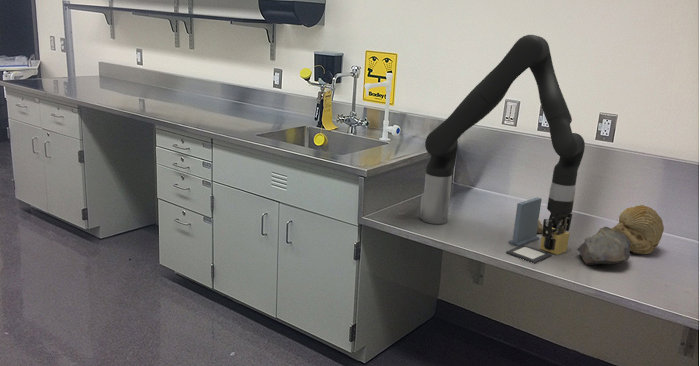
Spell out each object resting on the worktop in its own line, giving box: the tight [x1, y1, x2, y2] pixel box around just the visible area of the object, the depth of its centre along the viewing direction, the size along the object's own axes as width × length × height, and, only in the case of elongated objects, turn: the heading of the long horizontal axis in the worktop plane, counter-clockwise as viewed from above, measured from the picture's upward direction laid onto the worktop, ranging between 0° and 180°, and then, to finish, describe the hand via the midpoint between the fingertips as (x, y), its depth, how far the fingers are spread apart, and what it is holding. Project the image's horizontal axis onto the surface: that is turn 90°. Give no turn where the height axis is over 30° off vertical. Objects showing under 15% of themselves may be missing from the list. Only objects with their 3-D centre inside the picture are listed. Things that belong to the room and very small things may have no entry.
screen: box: [508, 196, 542, 247], centre depth 191 cm, size 4×12×14 cm, turn 132°
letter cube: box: [539, 228, 570, 256], centre depth 186 cm, size 6×6×6 cm
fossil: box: [611, 204, 665, 255], centre depth 190 cm, size 15×17×15 cm
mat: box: [505, 244, 553, 264], centre depth 181 cm, size 10×10×1 cm
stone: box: [576, 226, 632, 266], centre depth 178 cm, size 18×10×15 cm
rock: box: [537, 220, 543, 235], centre depth 205 cm, size 8×11×4 cm
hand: (553, 246), depth 186 cm, fingers closed on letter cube, 6 cm apart
